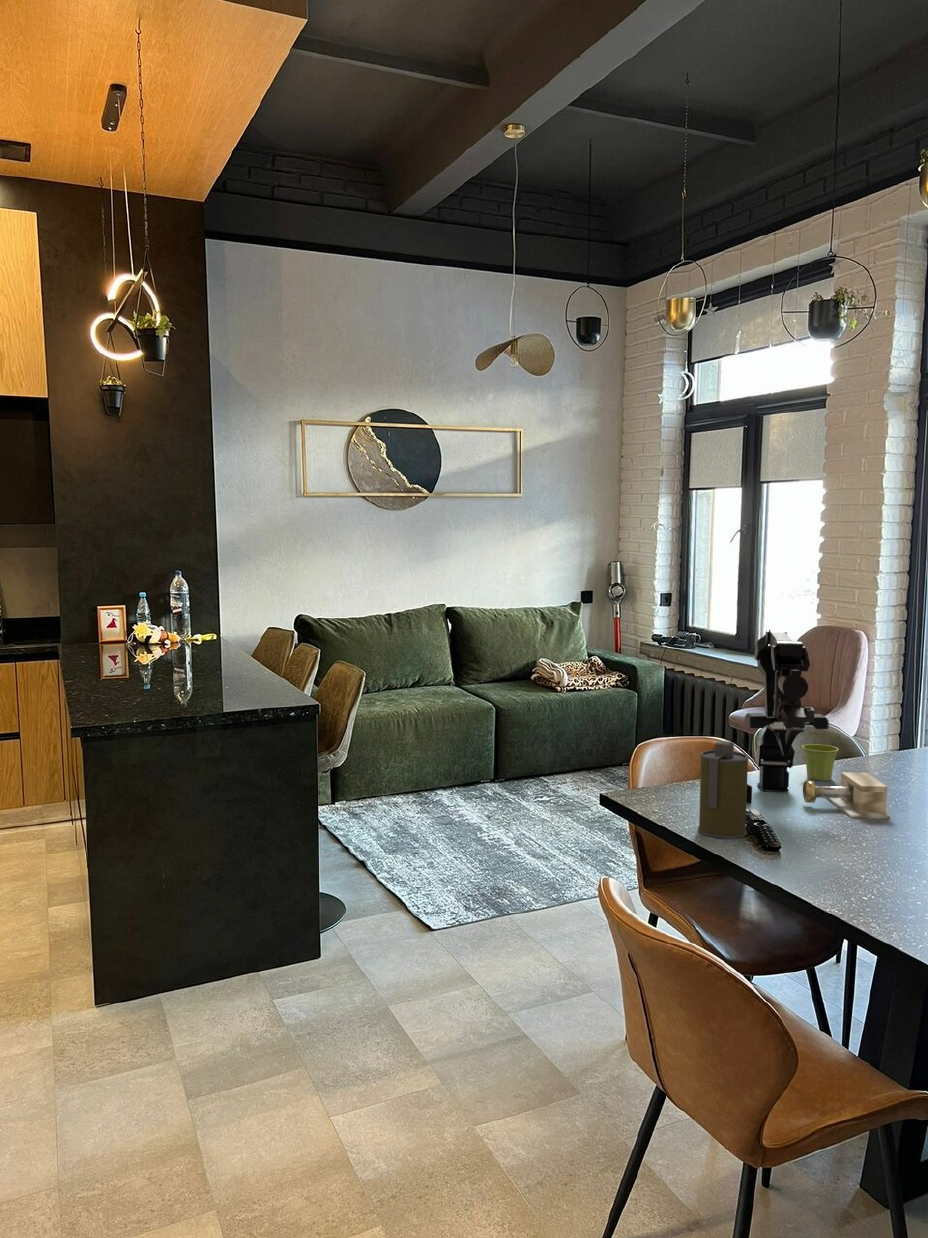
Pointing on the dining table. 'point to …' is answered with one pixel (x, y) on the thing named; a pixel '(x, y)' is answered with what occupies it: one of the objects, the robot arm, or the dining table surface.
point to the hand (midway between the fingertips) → (784, 755)
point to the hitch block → (863, 796)
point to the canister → (723, 792)
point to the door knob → (825, 792)
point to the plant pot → (819, 761)
